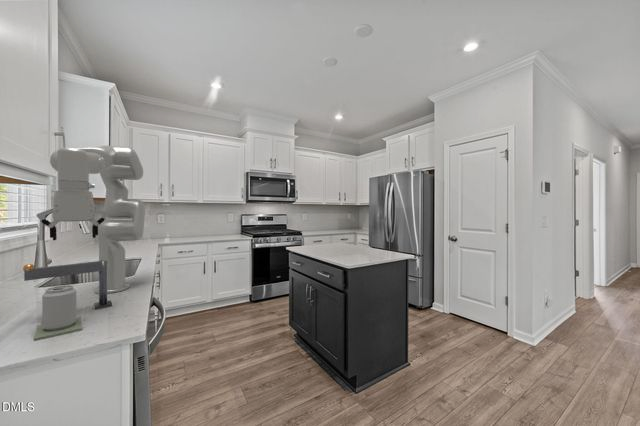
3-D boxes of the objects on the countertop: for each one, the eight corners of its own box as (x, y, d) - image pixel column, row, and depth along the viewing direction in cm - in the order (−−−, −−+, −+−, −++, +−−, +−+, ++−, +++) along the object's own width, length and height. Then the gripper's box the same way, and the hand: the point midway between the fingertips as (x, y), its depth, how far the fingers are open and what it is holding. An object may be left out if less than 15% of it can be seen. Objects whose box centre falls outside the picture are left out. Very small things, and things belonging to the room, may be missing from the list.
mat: (37, 327, 83) (37, 325, 83) (80, 318, 90) (80, 316, 90) (33, 340, 74) (33, 338, 74) (81, 330, 81) (82, 328, 81)
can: (71, 319, 87) (71, 282, 87) (80, 324, 83) (80, 286, 83) (38, 328, 81) (38, 288, 81) (47, 334, 77) (46, 292, 77)
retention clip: (106, 301, 103) (106, 256, 103) (107, 302, 101) (107, 256, 101) (23, 317, 87) (22, 264, 87) (23, 319, 86) (22, 265, 85)
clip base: (94, 305, 102) (94, 303, 102) (110, 302, 105) (110, 300, 105) (94, 309, 98) (94, 306, 98) (112, 306, 101) (112, 303, 101)
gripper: (106, 188, 97) (107, 235, 98) (37, 185, 85) (38, 239, 86) (108, 187, 91) (109, 237, 92) (34, 185, 80) (36, 242, 80)
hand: (75, 238), depth 89 cm, fingers open, 9 cm apart
